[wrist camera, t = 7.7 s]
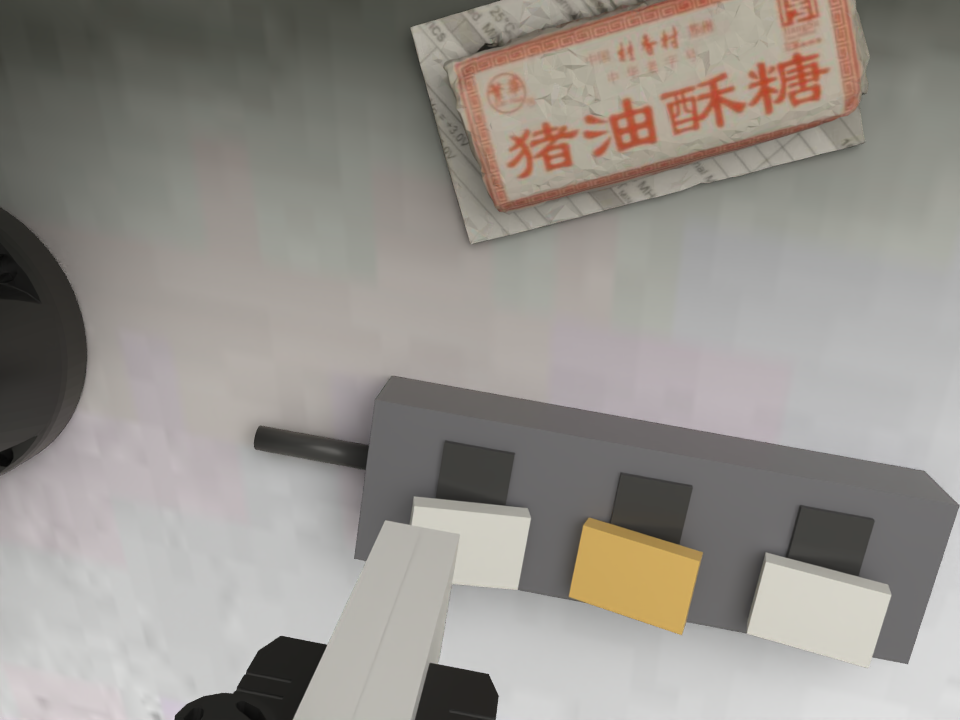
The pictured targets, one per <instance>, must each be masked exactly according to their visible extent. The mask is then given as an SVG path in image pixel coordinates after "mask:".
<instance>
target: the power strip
mask: <svg viewBox="0 0 960 720" xmlns="http://www.w3.org/2000/svg"><path fill="white" fill-rule="evenodd" d="M254 448H255V450H261V451H266V452H271V453H277V454H282V455H288V456H293V457H298V458H304V459H309V460H315V461H320V462H325V463H331V464H336V465H342V466H347V467H352V468H358V469H363V470H366V473H365V480H364V488H363V496H362V503H361V511H360V518H359V526H358V533H357V541H356V549H355V556H354V559H358V560H364V561H367V559H368V556H369V554H370V552H371V550H372V548H373V546H374V543H375V541H376V539H377V537H378V535H379V533H380V531H381V528H382V526H383V524H384V522H385V520H386V521H392V522H397V523H402V524H408V525H410V519H411V512H412V505H413V498H414V496H415V497H425V498H435V499H444V500H454V501H464V502H473V503H483V504H493V505H502V506H512V507H521V508H528V510H529V513H530V516H531V521H530V526H529V532H528V537H527V542H526V548H525V553H524V558H523V564H522V569H521V574H520V580H519V585H518V590H521V591H527V592H532V593H537V594H542V595H548V596H553V597H558V598H563V599H569V600H574V601H579V600H576V599H573V598H571V597H569V593H570V588H571V583H572V578H573V573H574V568H575V563H576V559H577V554H578V549H579V544H580V539H581V534H582V529H583V525H584V524H585V522H586V521H587V520H588V518H593V519H596V520H599V521H603V522H606V523H609V524H612V525H616V526H619V527H622V528H625V529H629V530H632V531H635V532H638V533H642V534H645V535H648V536H651V537H655V538H658V539H661V540H665V541H668V542H671V543H674V544H678V545H681V546H684V547H687V548H691V549H694V550H697V551H700V552H703V555H702V559H701V563H700V567H699V571H698V575H697V579H696V583H695V588H694V592H693V596H692V600H691V604H690V608H689V612H688V616H687V620H686V622H690V623H695V624H700V625H705V626H711V627H716V628H721V629H726V630H732V631H737V632H742V633H747V620H748V617H749V613H750V609H751V605H752V602H753V598H754V594H755V590H756V587H757V583H758V579H759V575H760V572H761V568H762V564H763V560H764V557H765V553H766V552H767V553H770V554H774V555H778V556H782V557H785V558H789V559H793V560H797V561H801V562H804V563H808V564H812V565H816V566H820V567H823V568H827V569H831V570H835V571H839V572H842V573H846V574H850V575H854V576H858V577H861V578H865V579H869V580H873V581H876V582H880V583H884V584H888V586H889V589H890V592H891V598H890V601H889V604H888V608H887V611H886V614H885V617H884V620H883V624H882V627H881V630H880V633H879V636H878V640H877V643H876V646H875V649H874V653H873V656H872V657H873V658H879V659H884V660H889V661H894V662H900V663H905V664H908V662H909V659H910V656H911V653H912V650H913V647H914V644H915V641H916V638H917V635H918V631H919V628H920V625H921V622H922V619H923V616H924V613H925V610H926V607H927V604H928V601H929V598H930V595H931V591H932V588H933V585H934V582H935V579H936V576H937V573H938V570H939V567H940V564H941V561H942V558H943V554H944V551H945V548H946V545H947V542H948V539H949V536H950V533H951V530H952V527H953V524H954V521H955V518H956V514H957V511H958V508H959V504H957V503H956V502H955V501H954V500H953V499H952V498H951V497H950V496H949V495H948V494H947V493H946V492H945V491H944V490H943V489H942V488H941V487H940V486H939V485H938V484H937V483H936V482H935V481H934V480H933V479H932V478H931V477H930V476H929V475H928V474H927V473H926V472H925V471H921V470H915V469H909V468H904V467H898V466H893V465H887V464H882V463H876V462H870V461H865V460H859V459H854V458H848V457H843V456H837V455H831V454H826V453H820V452H815V451H809V450H803V449H798V448H792V447H787V446H781V445H776V444H770V443H764V442H759V441H753V440H748V439H742V438H737V437H731V436H725V435H720V434H714V433H709V432H703V431H697V430H692V429H686V428H681V427H675V426H670V425H664V424H658V423H653V422H647V421H642V420H636V419H631V418H625V417H619V416H614V415H608V414H603V413H597V412H591V411H586V410H580V409H575V408H569V407H564V406H558V405H552V404H547V403H541V402H536V401H530V400H525V399H519V398H513V397H508V396H502V395H497V394H491V393H485V392H480V391H474V390H469V389H463V388H458V387H452V386H446V385H441V384H435V383H430V382H424V381H418V380H413V379H407V378H402V377H396V376H391V378H390V379H389V381H388V382H387V384H386V385H385V386H384V388H383V389H382V391H381V392H380V394H379V395H378V396H377V398H376V399H375V405H374V412H373V420H372V427H371V435H370V443H369V445H363V444H358V443H353V442H347V441H342V440H336V439H331V438H325V437H320V436H314V435H309V434H303V433H298V432H293V431H287V430H282V429H276V428H271V427H265V426H259V427H258V429H257V432H256V435H255V439H254ZM579 602H582V601H579ZM584 603H585V602H584Z"/></svg>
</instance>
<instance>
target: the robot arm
mask: <svg viewBox="0 0 960 720" xmlns="http://www.w3.org/2000/svg"><path fill="white" fill-rule="evenodd" d="M86 362H87V348H86V336H85V329H84V324H83V320H82V316H81V312H80V309H79V305H78V303H77V300H76V297H75V295H74V292H73V290H72V288H71V286H70V284H69V282H68V280H67V278H66V276H65V274H64V272H63V271H62V269H61V267H60V266H59V264H58V263H57V261H56V260H55V258H54V257H53V256H52V254H51V253H50V252H49V250H48V249H47V248H46V247H45V246H44V244H43V243H42V242H41V241H40V240H39V239H38V238H37V237H36V236H35V235H34V234H33V233H32V232H31V231H30V230H29V229H28V228H27V227H26V226H25V225H23V224H22V223H21V222H20V221H19V220H17V219H16V218H15V217H13V216H12V215H11V214H9V213H8V212H6V211H5V210H3V209H1V208H0V476H1V475H3V474H5V473H7V472H9V471H10V470H12V469H14V468H15V467H17V466H19V465H20V464H22V463H23V462H25V461H27V460H28V459H30V458H31V457H33V456H35V455H36V454H38V453H39V452H41V451H42V450H43V449H44V448H46V447H47V446H48V445H49V444H50V443H51V442H52V441H53V440H54V439H55V438H56V437H57V436H58V435H59V434H60V432H61V431H62V430H63V429H64V427H65V426H66V424H67V423H68V421H69V420H70V418H71V416H72V414H73V412H74V410H75V408H76V406H77V403H78V401H79V398H80V395H81V392H82V388H83V384H84V379H85V373H86ZM459 538H460V534H455V533H450V532H445V531H439V530H434V529H429V528H424V527H418V526H413V525H408V524H402V523H397V522H392V521H386V520H385V522H384V524H383V526H382V528H381V531H380V533H379V535H378V537H377V539H376V541H375V543H374V546H373V548H372V550H371V552H370V554H369V556H368V559H367V561H366V563H365V565H364V567H363V569H362V572H361V574H360V576H359V578H358V580H357V582H356V585H355V587H354V589H353V591H352V593H351V595H350V597H349V600H348V602H347V604H346V606H345V608H344V610H343V613H342V615H341V617H340V619H339V621H338V623H337V626H336V628H335V630H334V632H333V634H332V636H331V638H330V641H329V643H328V645H325V644H320V643H315V642H310V641H305V640H300V639H295V638H290V637H285V636H280V637H278V638H277V639H275V640H274V641H272V642H271V643H269V644H268V645H266V646H265V647H263V648H262V649H260V650H259V651H258V652H257V654H256V656H255V657H254V659H253V661H252V663H251V664H250V666H249V668H248V669H247V672H246V675H244V676H243V678H242V680H241V681H240V683H239V685H238V686H237V690H236V691H234V693H233V694H231V693H220V694H214V695H208V696H203V697H201V698H199V699H197V700H195V701H192V702H190V703H188V704H186V705H185V706H184V707H183V708H182V709H181V710H180V711H179V712H178V713H177V714H176V715H175V720H496V713H497V705H498V697H499V696H498V693H497V691H496V689H495V687H494V685H493V683H492V680H491V678H490V676H489V674H485V673H480V672H475V671H470V670H465V669H460V668H454V667H449V666H444V665H439V664H438V662H439V658H440V653H441V647H442V641H443V635H444V629H445V623H446V617H447V611H448V605H449V599H450V593H451V587H452V581H453V575H454V569H455V563H456V557H457V550H458V544H459Z"/></svg>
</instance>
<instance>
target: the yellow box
mask: <svg viewBox="0 0 960 720" xmlns="http://www.w3.org/2000/svg"><path fill="white" fill-rule="evenodd" d="M702 555H703V552H700V551H697V550H694V549H691V548H687V547H684V546H681V545H678V544H674V543H671V542H668V541H665V540H661V539H658V538H655V537H651V536H648V535H645V534H642V533H638V532H635V531H632V530H629V529H625V528H622V527H619V526H616V525H612V524H609V523H606V522H603V521H599V520H596V519H593V518H588V520H587V521H586V522H585V524H584V525H583V529H582V534H581V539H580V544H579V549H578V554H577V559H576V563H575V568H574V573H573V578H572V583H571V588H570V593H569V597H571V598H573V599H576V600H579V601H582V602H585V603H588V604H591V605H594V606H597V607H600V608H603V609H606V610H609V611H612V612H615V613H618V614H621V615H624V616H627V617H630V618H633V619H636V620H639V621H642V622H645V623H647V624H650V625H653V626H656V627H659V628H662V629H665V630H668V631H671V632H674V633H677V634H680V635H682V633H683V630H684V627H685V624H686V620H687V616H688V612H689V608H690V604H691V600H692V596H693V592H694V588H695V583H696V579H697V575H698V571H699V567H700V563H701V559H702Z"/></svg>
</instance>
